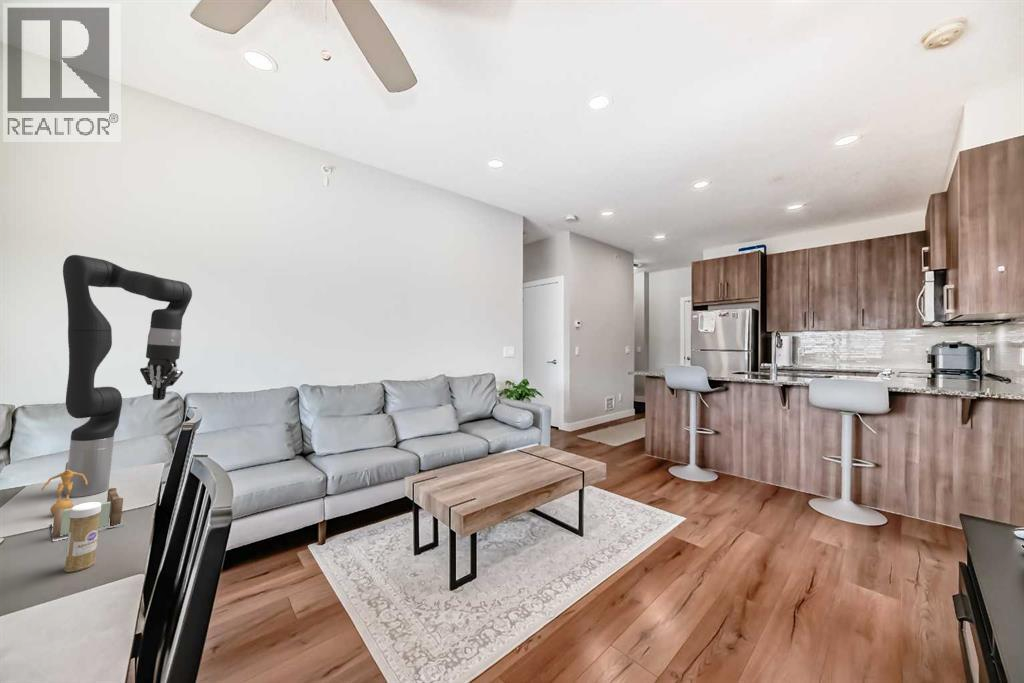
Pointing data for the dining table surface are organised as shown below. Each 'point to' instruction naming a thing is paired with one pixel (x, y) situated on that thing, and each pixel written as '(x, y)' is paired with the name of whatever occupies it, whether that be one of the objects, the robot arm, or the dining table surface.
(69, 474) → the figurine
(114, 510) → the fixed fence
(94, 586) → the dining table surface
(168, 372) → the robot arm
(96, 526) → the sprinkles bottle
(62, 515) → the swing panel
